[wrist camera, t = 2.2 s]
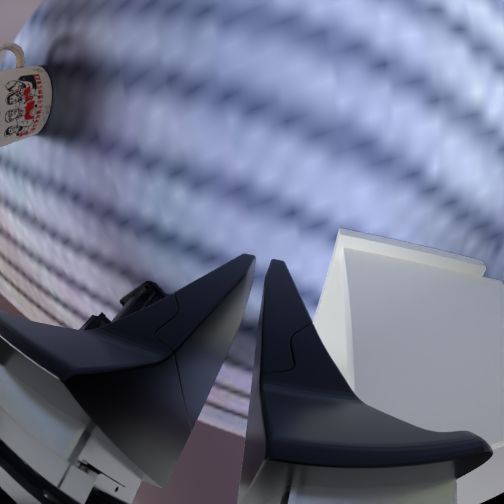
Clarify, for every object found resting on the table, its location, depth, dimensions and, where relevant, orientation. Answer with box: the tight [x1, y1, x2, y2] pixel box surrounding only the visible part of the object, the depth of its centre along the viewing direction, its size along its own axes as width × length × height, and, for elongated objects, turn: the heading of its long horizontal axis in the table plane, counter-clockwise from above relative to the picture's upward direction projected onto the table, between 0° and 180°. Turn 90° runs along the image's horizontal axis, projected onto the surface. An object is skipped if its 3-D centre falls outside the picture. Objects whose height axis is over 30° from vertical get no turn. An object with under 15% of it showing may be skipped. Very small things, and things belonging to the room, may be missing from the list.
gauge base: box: [313, 228, 504, 449], centre depth 18 cm, size 18×19×17 cm
